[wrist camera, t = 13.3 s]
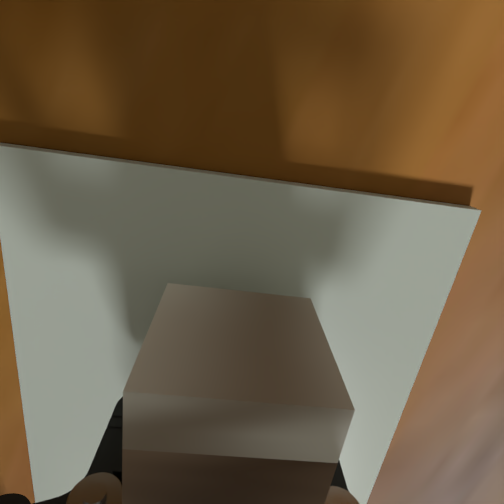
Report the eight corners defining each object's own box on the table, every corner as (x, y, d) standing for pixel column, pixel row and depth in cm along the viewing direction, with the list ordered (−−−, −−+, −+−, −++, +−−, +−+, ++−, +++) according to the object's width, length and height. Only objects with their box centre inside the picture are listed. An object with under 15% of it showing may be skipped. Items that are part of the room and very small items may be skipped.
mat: (44, 510, 18) (38, 523, 17) (0, 142, 11) (-12, 144, 11) (349, 525, 19) (352, 538, 18) (470, 206, 12) (481, 210, 12)
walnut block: (120, 676, 10) (122, 391, 6) (153, 515, 15) (167, 282, 11) (267, 677, 11) (354, 409, 7) (259, 520, 15) (310, 298, 11)
